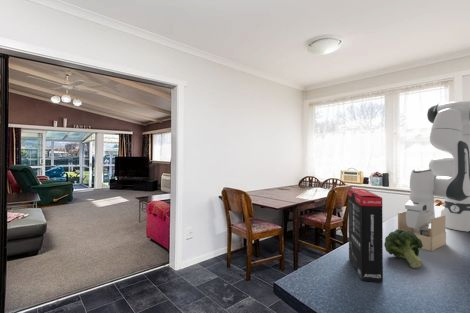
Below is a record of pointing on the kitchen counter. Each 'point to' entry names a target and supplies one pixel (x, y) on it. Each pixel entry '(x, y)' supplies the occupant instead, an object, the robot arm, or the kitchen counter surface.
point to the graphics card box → (366, 234)
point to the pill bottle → (424, 230)
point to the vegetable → (404, 246)
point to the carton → (435, 232)
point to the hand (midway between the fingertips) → (421, 234)
